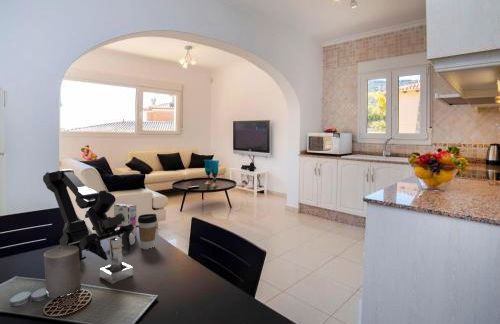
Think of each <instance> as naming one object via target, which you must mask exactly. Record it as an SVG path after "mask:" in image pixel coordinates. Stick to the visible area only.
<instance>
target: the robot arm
mask: <svg viewBox="0 0 500 324" xmlns="http://www.w3.org/2000/svg"><path fill="white" fill-rule="evenodd" d="M42 181H43V183H44V184H45V186H46V188H47V189H48V190H49V191H50V192H51V193H53V194H54V197H55V200H56V202H57V206H58V208H59V211H60V213H61V217H62V219H63V222H64V226H63V229H62V234H63V235H62V236H61V237H60V238H59V244H60V246H77V247H78V248H79V258H80V260H83V259H86V258H87V256H86V255H85V254H83V252H84V251H86V252H90V253H93V254H94V255H96V256H98V257H99V258H101V259H102V260H105V261H108V256H107V253H106V251H105V249H104V248H103V246H102V242H101V241H103V240H107V238H111V237H114V236H118V237H120V238H122V244H123V247H124V249H125V250H126V251H127V252H128V253H129V252H131V245H130V240H129V236H130V233H131V232H132V230H133V229H134V227H133V225H132V224H130V223H129V224H125V225H122V226H121V227H120V229H119V230H116V231H115V229H116V228H117V227H118V226H117V225H119V224H122V222H123V221H125V218H124V216H123V214H122V213H120V214H117V215H116V217H114V216H113V217H111V216H108V215H107V213H108V212H109V211H110V210H111V208H112V207H113V206H114V204H115V202H116V200H117V199H116V196H115V195H114V194H112V193H110V192H107V191H106V190H105V189H103V190H99V191H96V190H95V189H93V188H90V187H87V185H85V184H84V183H83V181H82V180H81V179H80V178H79V177H78V176H77V175H76V174H75V172H74V169H71V168H63V169H59V170H57V171H47V172H46V173H44V175H43V177H42ZM68 189H69V190H68ZM69 191H71V192H72V193H73V195H74V196H75V203H76V205H77V206H78V208H79V209H83V210H85V209H87V210H86V211H85V212H86V213H85V215H84V218H85V219H89V221H90V223H91V224H92V227H91V230H92V231H95V232H96V233H91V234H90V231H89V227H88V226H87V223H86V221H85V219H82V220H81V219H79V217H78V214H77V212H76V210H75V206H74V205H73V201H72V199H71V196H70V193H69Z"/></svg>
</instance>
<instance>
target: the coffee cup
mask: <svg viewBox="0 0 500 324" xmlns="http://www.w3.org/2000/svg"><path fill="white" fill-rule="evenodd" d="M157 217H158V216H157V214H156V213H146V214H145V213H144V214H140V215H138V217H137V223H138V233H139V240H140V241H139V242H140V248H141V249H142V248H143V249H142V250H150V249H149V248H151V249H153V248H155V242H156V241H155V240H156V233H157V232H156V231H157V221H158V218H157ZM152 247H153V248H152Z"/></svg>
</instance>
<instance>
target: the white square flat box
mask: <svg viewBox="0 0 500 324" xmlns="http://www.w3.org/2000/svg"><path fill="white" fill-rule="evenodd" d="M99 276H100V279H103V280H105V281H106V282H108V283H110V284H115V283H118V282H119V281H122V280H125V279H127V278H130V277H132V276H134V267H133V266H131V265H130V264H127V263H125V262H123V261H122V270H120V271H118V272H115V273H112V272H110V264H108V265H107V266H105V267H100V269H99Z"/></svg>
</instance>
